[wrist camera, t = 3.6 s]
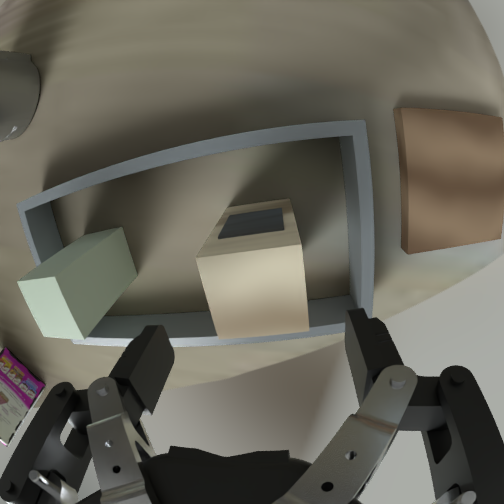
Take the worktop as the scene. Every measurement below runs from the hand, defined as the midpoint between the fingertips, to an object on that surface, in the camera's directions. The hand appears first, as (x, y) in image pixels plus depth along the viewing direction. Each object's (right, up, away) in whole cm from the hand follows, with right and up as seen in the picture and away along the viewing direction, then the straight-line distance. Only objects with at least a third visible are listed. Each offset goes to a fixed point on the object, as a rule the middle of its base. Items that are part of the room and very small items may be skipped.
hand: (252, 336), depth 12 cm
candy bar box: (-44, -19, +25) cm, 54 cm away
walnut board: (+18, +10, +8) cm, 22 cm away
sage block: (-14, +3, +13) cm, 20 cm away
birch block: (+1, +5, +11) cm, 13 cm away
